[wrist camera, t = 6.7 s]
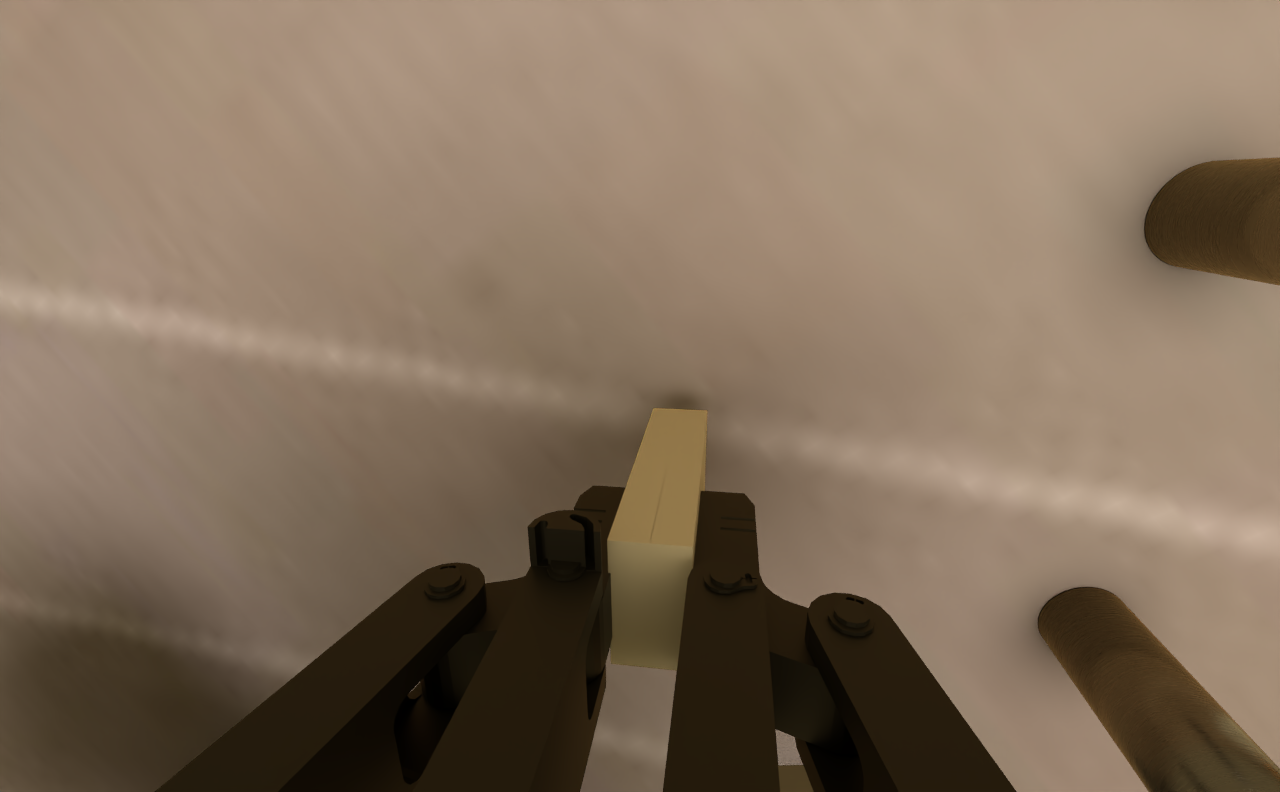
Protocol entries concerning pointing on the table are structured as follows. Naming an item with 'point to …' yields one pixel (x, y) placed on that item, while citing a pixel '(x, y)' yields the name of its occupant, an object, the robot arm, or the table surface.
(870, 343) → the table surface
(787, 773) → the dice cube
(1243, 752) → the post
